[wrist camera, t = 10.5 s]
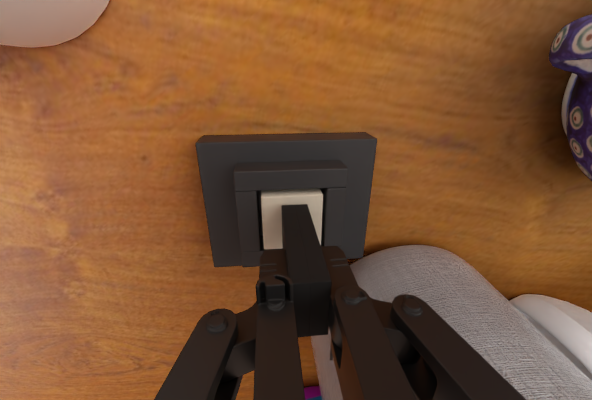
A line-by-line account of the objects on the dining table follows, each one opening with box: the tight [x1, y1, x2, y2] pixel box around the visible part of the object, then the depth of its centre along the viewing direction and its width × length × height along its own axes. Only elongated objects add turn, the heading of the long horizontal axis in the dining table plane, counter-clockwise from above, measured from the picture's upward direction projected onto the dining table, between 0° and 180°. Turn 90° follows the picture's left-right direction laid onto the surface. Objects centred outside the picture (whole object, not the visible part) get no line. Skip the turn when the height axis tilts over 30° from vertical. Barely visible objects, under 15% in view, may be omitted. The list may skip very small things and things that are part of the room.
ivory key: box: [261, 188, 323, 249], centre depth 17 cm, size 4×4×2 cm
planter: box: [311, 245, 592, 400], centre depth 19 cm, size 16×16×16 cm
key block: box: [196, 132, 377, 267], centre depth 19 cm, size 11×9×4 cm
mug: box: [509, 294, 592, 380], centre depth 22 cm, size 15×11×13 cm
